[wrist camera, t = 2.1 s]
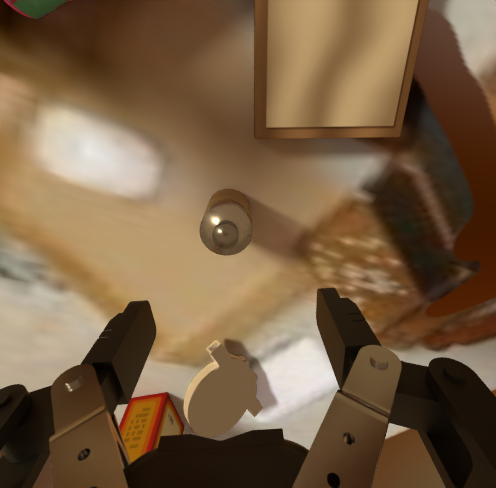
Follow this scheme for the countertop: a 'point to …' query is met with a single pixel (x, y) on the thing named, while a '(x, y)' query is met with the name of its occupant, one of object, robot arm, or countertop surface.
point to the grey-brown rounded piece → (220, 393)
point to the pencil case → (35, 7)
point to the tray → (334, 66)
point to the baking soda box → (148, 423)
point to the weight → (227, 223)
